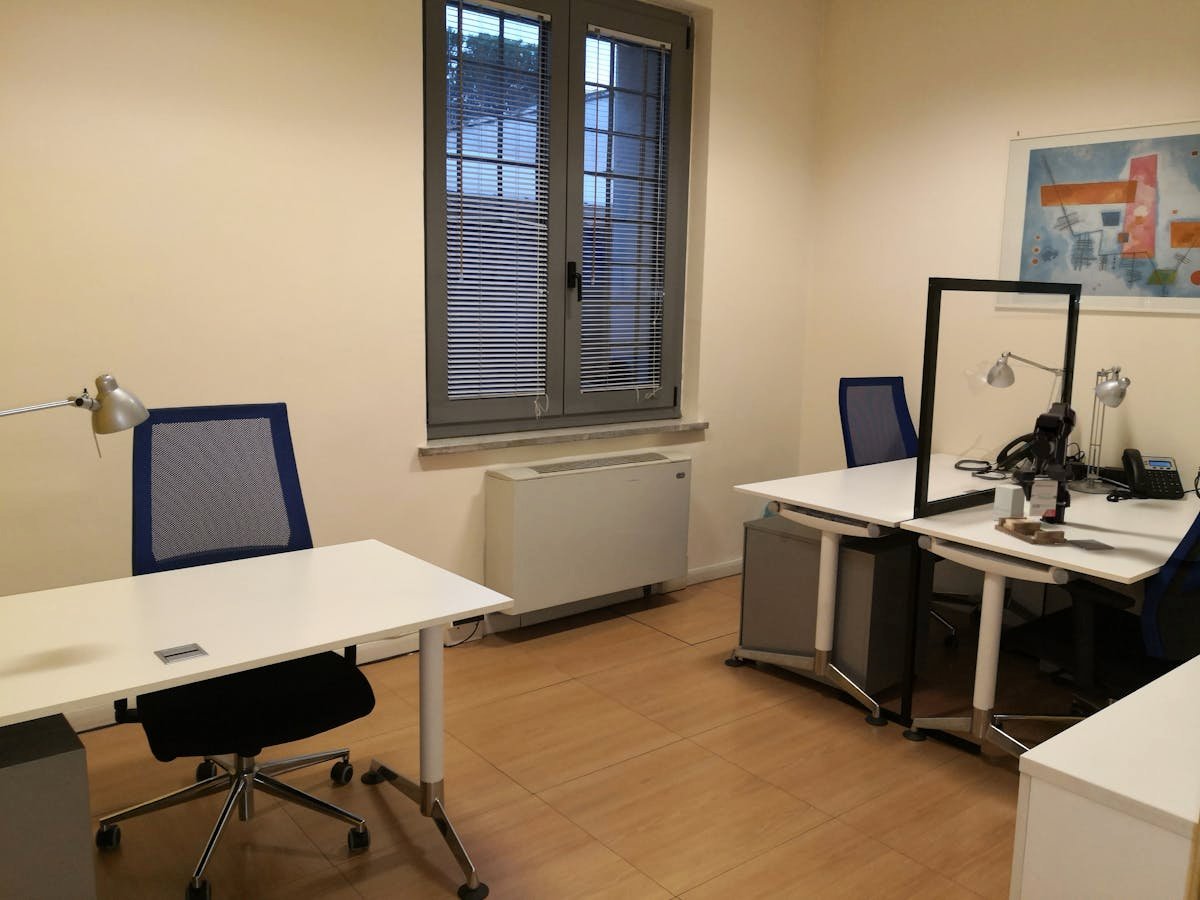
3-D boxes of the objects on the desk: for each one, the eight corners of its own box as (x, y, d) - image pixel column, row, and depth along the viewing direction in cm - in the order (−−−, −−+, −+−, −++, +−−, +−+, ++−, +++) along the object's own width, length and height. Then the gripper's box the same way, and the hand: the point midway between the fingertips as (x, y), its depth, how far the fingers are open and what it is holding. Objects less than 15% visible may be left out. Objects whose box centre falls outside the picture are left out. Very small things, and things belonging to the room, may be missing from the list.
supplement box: (1023, 522, 343) (1027, 487, 341) (1009, 524, 340) (1013, 488, 338) (1005, 518, 350) (1009, 483, 348) (991, 519, 346) (995, 484, 344)
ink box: (1048, 513, 322) (1051, 477, 320) (1055, 516, 317) (1059, 480, 315) (1022, 512, 322) (1025, 477, 320) (1028, 516, 317) (1032, 480, 315)
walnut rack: (1026, 528, 335) (1028, 516, 334) (1066, 543, 315) (1067, 531, 315) (994, 529, 332) (995, 517, 331) (1032, 544, 313) (1034, 532, 312)
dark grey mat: (1092, 540, 320) (1092, 539, 320) (1114, 549, 311) (1114, 547, 311) (1066, 541, 318) (1066, 540, 318) (1087, 549, 309) (1087, 548, 309)
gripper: (1036, 458, 306) (1031, 506, 308) (1088, 457, 310) (1082, 506, 312) (1014, 452, 316) (1009, 499, 319) (1064, 451, 321) (1059, 498, 323)
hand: (1040, 500), depth 318 cm, fingers closed on ink box, 9 cm apart
